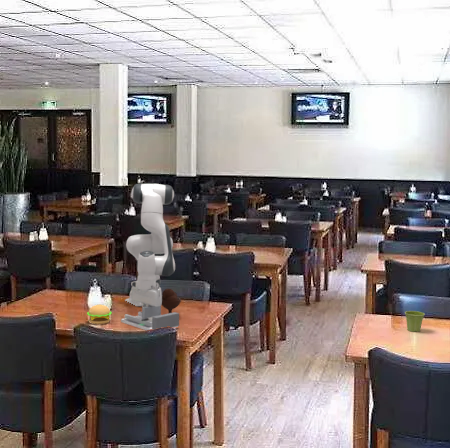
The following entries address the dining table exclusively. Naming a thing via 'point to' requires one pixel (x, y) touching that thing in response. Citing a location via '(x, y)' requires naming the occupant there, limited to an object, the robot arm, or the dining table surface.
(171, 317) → the grey mounting bracket
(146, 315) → the gauge carriage
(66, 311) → the dining table surface
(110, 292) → the dining table surface
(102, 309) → the hamburger
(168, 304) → the ice cream bowl
